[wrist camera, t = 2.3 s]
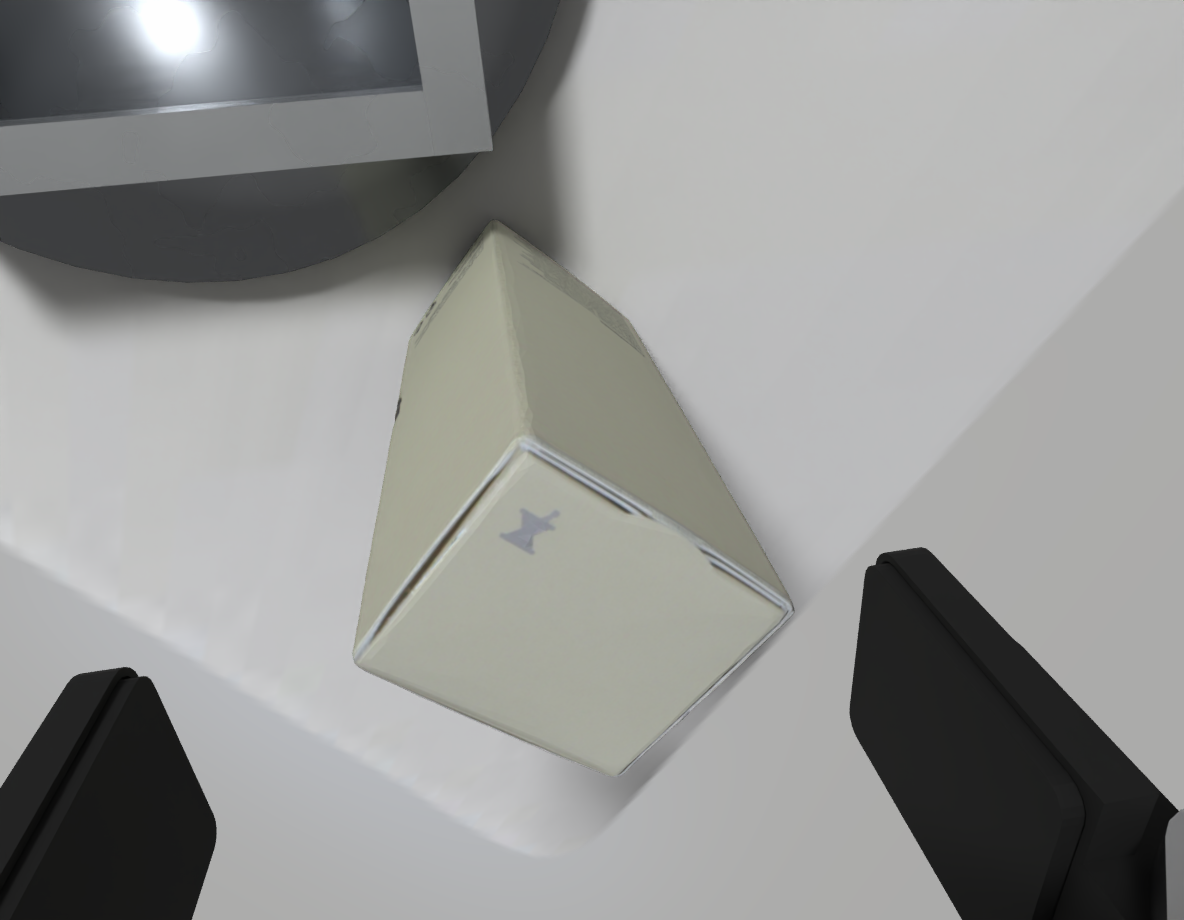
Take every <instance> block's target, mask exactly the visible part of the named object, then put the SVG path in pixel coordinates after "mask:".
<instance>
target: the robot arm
mask: <svg viewBox="0 0 1184 920" xmlns="http://www.w3.org/2000/svg"><path fill="white" fill-rule="evenodd" d="M850 719H851V723H852V727H853V730H854V733H855V735H856V737H857V739H858V740H859V742H860V744H861V746H862V747H863V749H864V751H865V752H866V754H867V756H868V757H869V759H870V761H871V763H872V765H873V766H874V768H875V770H876V771H877V773H878V775H879V777H880V778H881V780H882V782H883V784H884V785H885V787H886V789H887V791H888V792H889V794H890V796H891V797H892V799H893V801H894V803H895V804H896V806H897V808H898V810H899V811H900V813H901V815H902V817H903V818H904V820H905V822H906V823H907V825H908V827H909V829H910V830H911V832H912V834H913V836H914V837H915V839H916V841H917V842H918V844H919V846H920V848H921V849H922V851H923V853H924V855H925V856H926V858H927V860H928V861H929V863H930V865H931V867H932V868H933V870H934V872H935V874H936V875H937V877H938V879H939V881H940V882H941V884H942V886H943V887H944V889H945V891H946V893H947V894H948V896H949V898H950V900H951V901H952V903H953V905H954V907H955V908H956V910H957V911H958V913H959V915H960V917H961V919H962V920H1184V809H1182V810H1180V811H1178V810H1177V809H1176V808H1175V806H1173V804H1172V803H1171V802H1170V801H1169V800H1168V799H1167V798H1166V797H1165V796H1164V795H1163V794H1162V793H1161V792H1160V791H1159V790H1158V789H1157V788H1156V787H1155V785H1154V784H1153V783H1151V781H1150V780H1149V779H1148V778H1147V777H1146V776H1145V775H1144V774H1143V773H1142V772H1141V771H1140V770H1139V769H1138V768H1137V767H1136V766H1135V764H1134V763H1133V762H1132V761H1131V760H1130V759H1129V758H1128V757H1127V756H1126V755H1125V754H1124V753H1123V752H1122V751H1121V750H1120V749H1119V748H1118V747H1117V746H1116V744H1115V743H1114V742H1113V741H1112V740H1111V739H1110V738H1109V737H1108V736H1107V735H1106V734H1105V733H1104V732H1103V731H1102V730H1101V729H1100V728H1099V727H1098V725H1097V724H1096V723H1095V722H1094V721H1093V720H1092V719H1091V718H1090V717H1089V716H1088V715H1087V714H1086V713H1085V712H1084V711H1083V710H1082V709H1081V708H1080V707H1079V706H1078V705H1077V703H1076V702H1075V701H1073V699H1072V698H1071V697H1070V696H1069V695H1068V694H1067V693H1066V692H1065V691H1064V690H1063V689H1062V688H1061V687H1060V686H1059V685H1058V683H1057V682H1056V681H1055V680H1054V679H1053V678H1052V677H1051V676H1050V675H1049V674H1048V673H1047V672H1046V671H1045V670H1044V669H1043V668H1042V667H1041V666H1040V664H1038V662H1037V661H1036V660H1035V659H1034V658H1033V657H1032V656H1031V655H1030V654H1029V653H1028V652H1027V651H1026V650H1025V649H1024V648H1023V647H1022V646H1021V645H1020V644H1019V643H1017V642H1016V641H1015V640H1014V639H1013V638H1012V637H1011V636H1010V635H1009V634H1008V633H1007V632H1006V631H1005V630H1004V629H1003V628H1002V627H1001V626H1000V625H999V624H998V622H996V620H995V619H994V618H993V617H992V616H991V615H990V614H989V613H988V612H987V611H986V610H985V609H984V608H983V607H982V606H981V605H980V604H979V602H978V601H977V600H976V599H975V598H974V597H973V596H972V595H971V594H970V593H969V592H968V591H967V590H966V589H965V588H964V587H963V586H962V584H961V583H960V582H959V581H958V580H957V579H956V578H955V577H954V576H953V575H952V574H951V573H950V572H949V571H948V570H947V569H946V568H945V567H944V565H943V564H942V563H941V562H940V561H939V560H938V559H937V558H936V557H935V556H934V555H933V554H932V553H931V552H930V551H929V550H927V549H926V548H922V547H920V548H913V549H907V550H901V551H893V552H887V553H883V554H881V555H880V556H879V557H878V558H877V561H876V565H873V566H869V567H868V568H867V570H866V573H865V579H864V589H863V597H862V606H861V614H860V623H859V632H858V640H857V649H856V658H855V667H854V675H853V684H852V692H851V701H850ZM215 843H216V821H215V818H214V815H213V813H212V810H211V808H210V806H209V804H208V802H207V799H206V797H205V795H204V793H203V791H202V789H201V786H200V784H199V782H198V780H197V778H196V775H195V773H194V771H193V769H192V767H191V765H190V762H189V760H188V758H187V756H186V754H185V751H184V749H183V747H182V745H181V743H180V741H179V738H178V736H177V734H176V732H175V730H174V727H173V725H172V723H171V721H170V719H169V717H168V715H167V712H166V710H165V708H164V706H163V704H162V701H161V699H160V697H159V695H158V693H157V690H156V688H155V687H154V684H153V683H152V681H151V679H149V678H148V677H146V676H143V677H138V675H137V674H136V672H135V671H134V670H133V669H131V668H128V667H123V668H116V669H109V670H102V671H96V672H90V673H82V674H78V675H76V676H74V677H73V678H72V679H71V680H70V681H69V682H68V683H67V685H66V687H65V688H64V690H63V691H62V693H61V694H60V696H59V698H58V699H57V701H56V702H55V704H54V705H53V707H52V708H51V710H50V712H49V713H48V715H47V716H46V718H45V720H44V721H43V722H42V724H41V726H40V728H39V729H38V730H37V732H36V734H35V735H34V737H33V738H32V740H31V741H30V743H29V744H28V746H27V747H26V749H25V751H24V752H23V754H22V755H21V757H20V759H19V760H18V762H17V763H16V765H15V766H14V768H13V769H12V771H11V773H10V774H9V776H8V777H7V779H6V780H5V782H4V783H3V785H2V787H1V788H0V920H192V917H193V913H194V911H195V907H196V904H197V901H198V898H199V895H200V892H201V889H202V886H203V883H204V879H205V876H206V873H207V870H208V867H209V864H210V861H211V858H212V854H213V851H214V847H215Z"/></svg>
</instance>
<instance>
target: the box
mask: <svg viewBox="0 0 1184 920" xmlns="http://www.w3.org/2000/svg"><path fill="white" fill-rule="evenodd" d="M793 613H794V607H793V604H792V601H791V599H790V597H789V595H788V593H787V591H786V590H785V588H784V586H783V584H782V583H781V581H780V579H779V577H778V576H777V574H776V572H775V570H774V569H773V567H772V565H771V563H770V561H769V560H768V558H767V556H766V554H765V553H764V551H763V549H762V547H761V546H760V544H759V542H758V540H757V539H756V537H755V535H754V533H753V532H752V530H751V528H750V526H749V525H748V523H747V521H746V519H745V518H744V516H743V514H742V513H741V511H740V509H739V508H738V506H737V504H736V503H735V501H734V499H733V497H732V496H731V494H730V492H729V491H728V489H727V487H726V486H725V484H724V482H723V481H722V479H721V477H720V475H719V474H718V472H717V470H716V468H715V467H714V465H713V463H712V462H711V460H710V458H709V456H708V455H707V453H706V451H705V449H704V448H703V446H702V444H701V443H700V441H699V439H698V437H697V436H696V434H695V432H694V430H693V429H692V427H691V425H690V424H689V422H688V420H687V418H686V417H685V415H684V413H683V411H682V410H681V408H680V406H679V405H678V403H677V401H676V400H675V398H674V396H673V395H672V393H671V391H670V390H669V388H668V386H667V385H666V383H665V381H664V379H663V378H662V376H661V374H660V373H659V371H658V369H657V367H656V366H655V364H654V362H653V361H652V359H651V357H650V355H649V354H648V352H647V350H646V349H645V347H644V345H643V343H642V342H641V340H640V338H639V336H638V335H637V333H636V331H635V330H634V328H633V326H632V324H631V323H630V321H629V320H628V319H627V318H626V317H624V316H623V315H622V314H621V313H620V312H619V311H617V310H616V309H615V308H614V307H613V306H611V305H610V304H609V303H608V302H607V301H605V300H604V299H603V298H602V297H600V296H599V295H598V294H597V293H595V292H594V291H593V290H591V289H590V288H589V287H587V286H586V285H585V284H584V283H582V282H581V281H580V280H578V279H577V278H576V277H575V276H573V275H572V274H571V273H569V272H568V271H567V270H565V269H564V268H563V267H561V266H560V265H559V264H557V263H556V262H555V261H553V260H552V259H551V258H549V257H548V256H547V255H545V254H544V253H543V252H541V251H540V250H538V249H537V248H536V247H534V246H533V245H532V244H530V243H529V242H528V241H526V240H525V239H524V238H522V237H521V236H519V235H518V234H517V233H515V232H514V231H512V230H511V229H510V228H508V227H507V226H505V225H504V224H502V223H501V222H500V221H497V220H492V221H490V222H489V223H488V225H487V226H486V227H485V229H484V230H483V232H482V233H481V235H480V236H479V237H478V239H477V240H476V241H475V243H474V244H473V245H472V247H471V248H470V250H469V251H468V252H467V254H466V255H465V257H464V258H463V259H462V261H461V262H460V264H459V265H458V266H457V268H456V269H455V271H454V272H453V274H452V275H451V277H450V278H449V279H448V281H447V282H446V284H445V285H444V287H443V288H442V290H441V291H440V293H439V294H438V296H437V297H436V299H435V300H434V301H433V303H432V304H431V306H430V307H429V309H428V310H427V312H426V313H425V315H424V317H423V318H422V320H421V321H420V323H419V324H418V326H417V328H416V329H415V331H414V332H413V334H412V336H411V338H410V340H409V343H408V350H407V355H406V360H405V366H404V371H403V376H402V383H401V388H400V395H399V400H398V405H397V411H396V414H395V424H394V427H393V431H392V436H391V441H390V446H389V452H388V458H387V464H386V470H385V475H384V481H383V486H382V491H381V497H380V503H379V508H378V513H377V518H376V523H375V528H374V534H373V540H372V546H371V552H370V557H369V562H368V567H367V573H366V578H365V585H364V590H363V596H362V603H361V609H360V615H359V620H358V626H357V631H356V637H355V643H354V649H353V653H352V654H353V659H354V663H355V664H356V665H357V666H358V667H359V668H361V669H363V670H364V671H366V672H368V673H370V674H372V675H375V676H377V677H379V678H381V679H384V680H386V681H388V682H390V683H392V684H395V685H397V686H399V687H401V688H403V689H405V690H407V691H409V692H411V693H413V694H415V695H417V696H419V697H422V698H424V699H426V700H429V701H431V702H434V703H436V704H438V705H440V706H443V707H445V708H447V709H449V710H451V711H454V712H456V713H458V714H460V715H463V716H465V717H467V718H470V719H472V720H474V721H476V722H479V723H481V724H483V725H486V726H488V727H490V728H492V729H495V730H497V731H499V732H501V733H504V734H506V735H508V736H510V737H513V738H515V739H517V740H520V741H522V742H524V743H527V744H530V745H533V746H535V747H537V748H539V749H542V750H544V751H546V752H548V753H551V754H554V755H556V756H559V757H562V758H564V759H567V760H569V761H572V762H574V763H577V764H579V765H582V766H584V767H587V768H589V769H592V770H595V771H597V772H599V773H602V774H604V775H607V776H610V777H619V776H621V775H622V774H624V773H625V772H626V771H627V770H628V769H629V768H630V767H631V766H632V765H633V764H634V763H635V762H636V761H637V760H638V759H639V758H641V757H642V756H643V755H644V754H645V753H646V752H647V751H648V750H649V749H650V748H651V747H652V746H653V745H654V744H655V743H656V742H657V741H659V740H660V739H661V738H662V737H663V736H664V735H665V734H666V733H667V732H668V731H669V730H670V729H672V728H673V727H674V726H675V725H676V724H678V723H679V722H680V721H681V720H683V718H684V717H685V716H686V715H687V714H688V713H689V712H690V711H691V710H692V709H693V708H694V707H696V706H697V705H698V704H699V703H700V702H701V701H702V700H703V699H704V698H706V697H707V696H708V695H709V694H710V693H711V692H712V691H714V690H715V689H716V688H717V687H718V686H719V685H720V684H721V683H722V682H723V681H724V680H725V679H726V678H727V677H728V676H729V675H730V674H732V673H733V672H734V671H735V670H736V669H737V668H738V667H739V666H740V665H741V664H742V663H743V662H744V661H745V660H746V659H747V658H748V657H749V656H750V655H752V654H753V653H754V652H755V651H756V650H757V649H758V648H759V647H760V646H761V645H762V644H763V643H764V642H765V641H766V640H767V639H768V638H770V637H771V636H772V635H773V634H774V633H775V632H776V631H777V630H778V629H779V628H780V627H781V626H782V625H783V624H784V623H785V622H786V621H787V620H788V619H789V618H790V617H791V616H792V615H793Z"/></svg>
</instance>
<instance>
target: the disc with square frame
mask: <svg viewBox="0 0 1184 920" xmlns="http://www.w3.org/2000/svg"><path fill="white" fill-rule="evenodd" d="M559 1H560V0H0V241H2V242H4V243H6V244H8V245H11V246H13V247H15V248H18V249H21V250H24V251H27V252H31V253H34V254H37V255H40V256H43V257H47V258H50V259H53V260H56V261H59V262H62V263H66V264H69V265H72V266H75V267H80V268H85V269H90V270H95V271H100V272H105V273H110V274H115V275H120V276H125V277H130V278H139V279H150V280H162V281H174V282H186V283H187V282H213V281H239V280H245V279H251V278H257V277H263V276H269V275H275V274H281V273H287V272H291V271H294V270H297V269H300V268H303V267H307V266H310V265H313V264H316V263H319V262H323V261H326V260H329V259H332V258H336V257H338V256H340V255H342V254H344V253H346V252H348V251H350V250H352V249H355V248H357V247H359V246H361V245H363V244H365V243H367V242H369V241H372V240H374V239H376V238H378V237H380V236H381V235H383V234H385V233H386V232H388V231H389V230H391V229H392V228H394V227H395V226H397V225H398V224H400V223H401V222H403V221H404V220H406V219H407V218H409V217H410V216H412V215H413V214H415V213H416V212H418V211H419V210H421V209H422V208H423V207H424V206H425V205H427V204H428V203H429V202H430V201H431V200H432V199H433V198H434V197H436V196H437V195H438V194H439V193H440V192H441V191H442V190H443V189H445V188H446V187H447V186H448V185H449V184H450V183H451V182H453V181H454V180H455V179H456V178H457V177H458V176H459V175H460V174H461V173H462V172H463V170H464V169H465V168H466V167H467V166H468V165H469V163H470V162H471V161H472V160H473V159H474V158H475V156H476V155H477V154H478V153H479V152H483V151H493V145H492V136H493V135H494V133H495V132H496V130H497V129H498V127H499V126H500V124H501V122H502V121H503V119H504V118H505V116H506V115H507V113H508V112H509V110H510V108H511V107H512V105H513V104H514V102H515V101H516V99H517V98H518V96H519V94H520V93H521V91H522V90H523V88H524V86H525V83H526V81H527V79H528V77H529V75H530V73H531V71H532V69H533V67H534V64H535V62H536V60H537V58H538V56H539V54H540V52H541V50H542V48H543V45H544V43H545V41H546V39H547V37H548V34H549V31H550V28H551V25H552V22H553V19H554V16H555V13H556V10H557V7H558V4H559Z"/></svg>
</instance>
